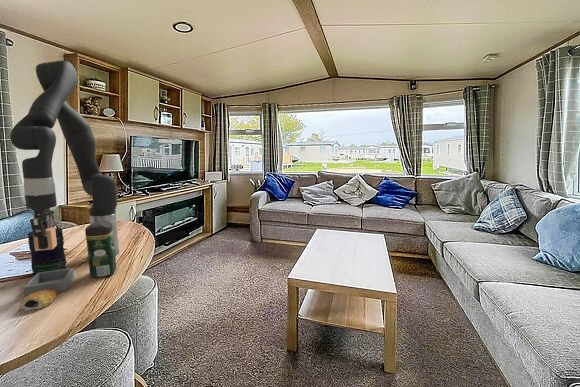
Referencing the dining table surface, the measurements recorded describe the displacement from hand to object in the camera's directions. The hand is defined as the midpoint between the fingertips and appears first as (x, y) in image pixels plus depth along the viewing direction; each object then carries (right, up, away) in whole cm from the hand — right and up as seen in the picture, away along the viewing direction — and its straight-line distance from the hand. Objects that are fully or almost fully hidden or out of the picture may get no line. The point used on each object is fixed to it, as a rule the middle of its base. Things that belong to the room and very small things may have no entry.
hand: (46, 245), depth 99 cm
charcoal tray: (0, -13, +2) cm, 13 cm away
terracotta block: (0, -1, 0) cm, 1 cm away
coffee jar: (+11, -12, +12) cm, 20 cm away
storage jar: (-9, -12, +14) cm, 20 cm away
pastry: (+5, -15, -9) cm, 19 cm away
